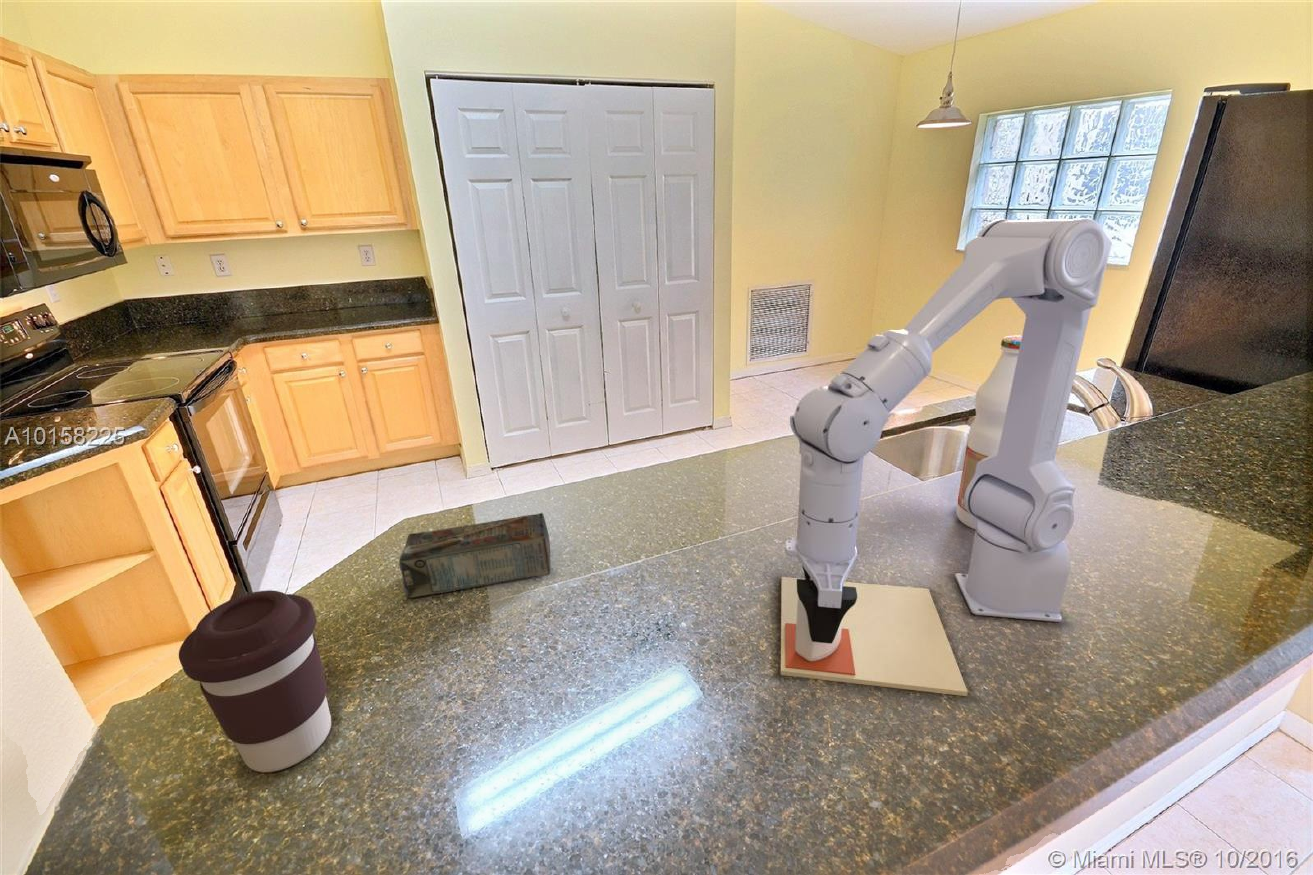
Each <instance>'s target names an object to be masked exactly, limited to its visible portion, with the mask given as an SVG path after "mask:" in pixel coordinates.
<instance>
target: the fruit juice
mask: <svg viewBox="0 0 1313 875" xmlns="http://www.w3.org/2000/svg"><path fill="white" fill-rule="evenodd" d="M1021 339H1022V334H1021V335H1019V334H1016V335H1015V334H1013V335H1007V336H1003V337H1002V339H1001V343H1000V350H1001V355H1000V357H999V359H998V361H997V362H996V364H995V366H994V368H993V369H992V371H991V373H990V374H989V376H988V377H987V379H986V380H985V381H984V382H983V383H982V384H981V385H980V386H979V387H978V389H977V391H976V393H975V396H974V409H975V417H974V420H973V421H972V422H971V425H970V428H969V430H968V434H967V439H966V446H965V453H964V458H963V464H962V471H961V477H960V483H959V490H958V496H957V502H956V516H957V519H958V520H959V521H960V522H961V523H962V524H964V526H965V525H966V526H967V527H968V528H970V529H973V530H975V531H976V527H975V526H974V525H973V524H971V522H972V516H973V515H971V514H970V513H969V512H968V511H967V510H966V508H965V505H964V497H965V492H966V489H967V487H968V485H969V483H970V482H971V480H972V478H973V476H974V474H975V471H976V466H977V463H978V462H979V461H981V460H983V459H985V458H987V457H990V456H992V455H995V454H998V450H999V445H1000V440H1001V435H1002V431H1003V426H1004V421H1005V416H1006V411H1007V406H1008V402H1009V397H1010V392H1011V387H1012V382H1013V377H1014V373H1015V368H1016V363H1017V358H1018V353H1019V348H1020V344H1021Z"/></svg>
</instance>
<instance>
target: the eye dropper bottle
mask: <svg viewBox="0 0 1313 875" xmlns="http://www.w3.org/2000/svg"><path fill="white" fill-rule="evenodd" d="M810 580H812V579H811V578H810ZM843 586H844V585H843ZM841 630H842V621H841V623H840V626H839V628H838V631H837V634H836V636H835V638H834V641H833V642H832V643H831V644H830V643H820V642H813V641H812V640H811V637H810V632H809V626H808V618H807V614H806V610H805V608H804V606H803V604H802V602H801V601H800V599H799V597H798V605H797V622H796V641H795V651H796V652H797V653H798V654H799V655H800V656H802V657H803V658H805V659H806V660H808V661H817V660H820V659H823V658H825V657H827V656H829V655H830V654H832V653H833V652H834V651H835V650H836V648H837V647H838V645H839V643H840V639H841Z"/></svg>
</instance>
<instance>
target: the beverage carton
mask: <svg viewBox="0 0 1313 875" xmlns="http://www.w3.org/2000/svg"><path fill="white" fill-rule="evenodd" d="M401 552H402V553H401V554H400V557H399V559H398V566H399V570H400V573H401V577H402V584H403V587H404V590H405V594H406V597H407V598H408V599H412V598H417V597H422V596H429V595H436V594H442V593H443V594H444V593H449V592H454V591H459V590H460V591H461V590H464V589H470V588H475V587H483V586H487V585H493V584H498V583H502V582H503V583H504V582H507V581H508V582H509V581H514V580H519V579H526V578H531V577H538V576H543V575H549V574H551V542H550V535H549V531H548V527H547V523H546V519H545V516H544V513H543V512H540V513H535V514H528V515H521V516H515V517H510V518H503V519H497V520H492V521H487V522H480V523H474V524H467V525H462V526H455V527H448V528H442V529H436V530H431V531H421V532H415V533H409V534H408V536H407V537H406V541H405V544H404V547H403V549H402V551H401Z"/></svg>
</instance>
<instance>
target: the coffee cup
mask: <svg viewBox="0 0 1313 875" xmlns="http://www.w3.org/2000/svg"><path fill="white" fill-rule="evenodd" d="M316 626H317V615H316V612H315V609H314V606H313V604H312V602H311V601H310V600H309V599H308V598H306V597H304V596H302V595H298V594H293V593H285V592H282V591H279V590H272V589H270V590H259V591H253V592H250V593H246V594H242V595H239V596H237V597H234V598H231V599H229V600H227V601H225V602H223V603H221V604H219V605H218V606H216V607H214V608H213V609H212V610H210V611H209V612H208V613H206V614H205V615H204V616H203V617H202V618H201V620H200V621H199V622H198V623H197V625H196V627H195V629H193V631H192V632H190V634H188V636H186V638H185V639H184V641H183V643H182V644H181V645H180V647H179V650H178V660H179V662H180V665H181V668H182V670H183V672H184V673H185V675H186V676H187V677H188V678H189V679H191V680H193V681H196V682H199V687H200V690H201V693H202V695H203V696H204V698H205V700H206V702H207V703H208V704H207V705H209V708H210V709H211V711H212V712H213V715H214V717H215V718H216V720H217V722H218V723H219V725H220V727H221V729H222V730H223V733H224V735H225V736H226V737H227V738H228V740H230V741H231V742H233V744H234V746H235V747H236V750H237V751H238V753H239V755H240V757H241V759H242V760H243V762H244V764H245V765H246V766H247V767H248V768H249V769H250V770H252V771H254V772H259V773H273V772H278V771H282V770H285V769H288V768H290V767H292V766H294V765H297V764H298V763H300V762H302V761H304V760H305V759H307V758H308V757H310V756H311V755H313V753H314V752H315V751H317V749H319V747H320V746H321V745H322V744H323V743H324V742H325V741H326V739H327V737H328V735H329V734H330V731H331V727H332V715H331V711H330V708H329V703H328V698H327V693H328V692H327V691H328V690H327V689H328V688H327V687H328V686H327V681H326V677H325V672H324V668H323V663H322V658H321V654H320V649H319V644H318V640H317V637H316V635H315V634H314V631H315V629H316Z"/></svg>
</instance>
